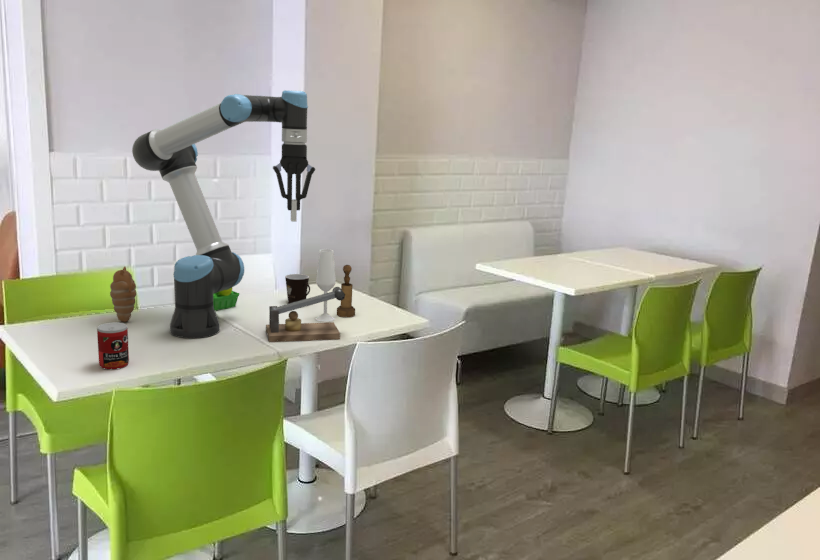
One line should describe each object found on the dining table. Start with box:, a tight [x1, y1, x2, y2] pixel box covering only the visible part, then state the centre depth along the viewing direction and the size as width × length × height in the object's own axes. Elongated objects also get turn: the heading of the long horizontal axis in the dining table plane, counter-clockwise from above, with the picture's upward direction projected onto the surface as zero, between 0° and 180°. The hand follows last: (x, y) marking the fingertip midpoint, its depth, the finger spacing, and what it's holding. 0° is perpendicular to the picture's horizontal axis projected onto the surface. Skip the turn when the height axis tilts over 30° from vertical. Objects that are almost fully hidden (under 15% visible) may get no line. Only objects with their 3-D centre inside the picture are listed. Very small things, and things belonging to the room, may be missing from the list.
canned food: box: [96, 321, 130, 370], centre depth 198 cm, size 8×8×11 cm
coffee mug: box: [284, 273, 311, 304], centre depth 267 cm, size 12×9×10 cm
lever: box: [270, 286, 345, 315], centre depth 230 cm, size 24×6×3 cm, turn 105°
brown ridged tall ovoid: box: [109, 266, 137, 323], centre depth 235 cm, size 9×8×18 cm
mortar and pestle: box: [336, 264, 356, 318], centre depth 255 cm, size 7×6×18 cm
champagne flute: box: [315, 248, 337, 323], centre depth 248 cm, size 7×7×24 cm
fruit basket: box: [213, 287, 240, 311], centre depth 257 cm, size 11×9×11 cm
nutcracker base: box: [265, 305, 341, 343], centre depth 231 cm, size 22×12×9 cm, turn 106°
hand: (293, 220), depth 225 cm, fingers closed
